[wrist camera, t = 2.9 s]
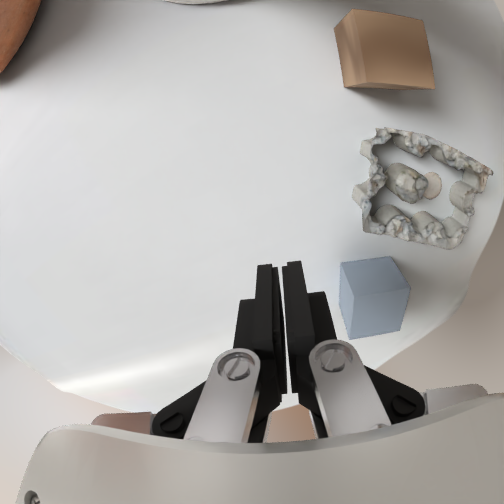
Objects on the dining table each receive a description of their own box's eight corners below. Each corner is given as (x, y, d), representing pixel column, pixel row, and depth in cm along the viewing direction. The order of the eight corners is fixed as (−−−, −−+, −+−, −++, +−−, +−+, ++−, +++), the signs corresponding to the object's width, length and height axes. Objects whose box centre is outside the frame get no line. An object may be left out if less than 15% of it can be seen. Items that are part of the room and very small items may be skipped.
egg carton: (468, 157, 16) (499, 170, 13) (443, 235, 20) (468, 258, 16) (363, 115, 16) (388, 118, 12) (341, 212, 20) (357, 237, 16)
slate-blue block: (340, 262, 22) (354, 296, 18) (389, 255, 21) (410, 287, 17) (338, 303, 24) (349, 339, 20) (383, 296, 23) (399, 330, 19)
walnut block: (333, 29, 13) (352, 8, 9) (392, 34, 12) (422, 20, 8) (343, 87, 15) (366, 82, 11) (401, 90, 14) (435, 89, 10)
